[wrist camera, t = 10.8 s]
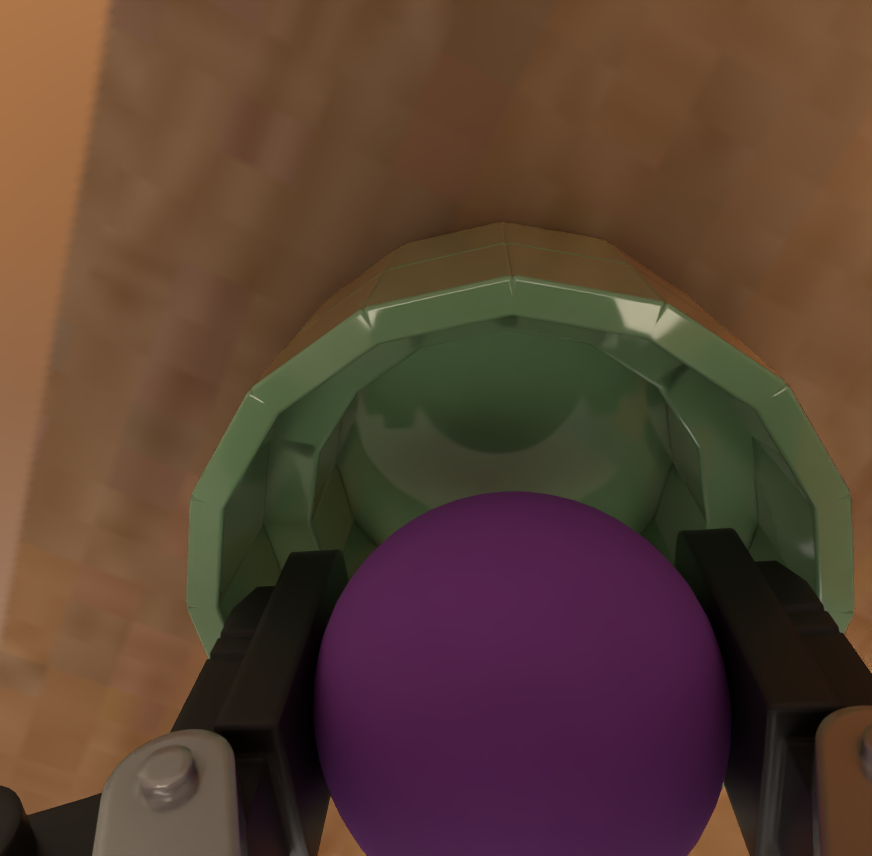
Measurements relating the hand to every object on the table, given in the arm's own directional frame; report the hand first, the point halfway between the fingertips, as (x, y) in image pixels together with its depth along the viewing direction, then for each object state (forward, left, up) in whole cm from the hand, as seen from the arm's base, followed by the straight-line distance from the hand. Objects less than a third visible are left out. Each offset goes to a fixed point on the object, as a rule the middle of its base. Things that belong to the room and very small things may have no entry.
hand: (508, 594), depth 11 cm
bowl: (0, 0, -5) cm, 5 cm away
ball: (0, 0, +2) cm, 2 cm away
